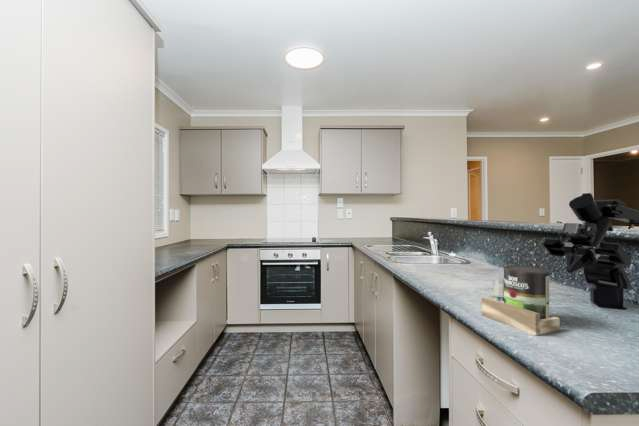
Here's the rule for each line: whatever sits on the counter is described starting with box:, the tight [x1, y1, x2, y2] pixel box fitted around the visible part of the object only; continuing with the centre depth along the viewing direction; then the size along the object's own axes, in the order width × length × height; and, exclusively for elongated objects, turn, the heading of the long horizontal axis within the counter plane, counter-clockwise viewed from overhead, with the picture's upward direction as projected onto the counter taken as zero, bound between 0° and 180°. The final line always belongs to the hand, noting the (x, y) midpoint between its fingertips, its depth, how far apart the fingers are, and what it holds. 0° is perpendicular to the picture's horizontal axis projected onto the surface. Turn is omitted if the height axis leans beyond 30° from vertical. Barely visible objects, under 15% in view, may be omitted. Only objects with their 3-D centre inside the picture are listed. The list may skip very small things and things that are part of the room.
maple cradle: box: [480, 296, 561, 336], centre depth 78 cm, size 8×15×5 cm, turn 20°
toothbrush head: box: [491, 277, 504, 302], centre depth 104 cm, size 5×7×25 cm
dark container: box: [502, 264, 551, 320], centre depth 80 cm, size 10×10×14 cm
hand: (568, 271), depth 85 cm, fingers closed
